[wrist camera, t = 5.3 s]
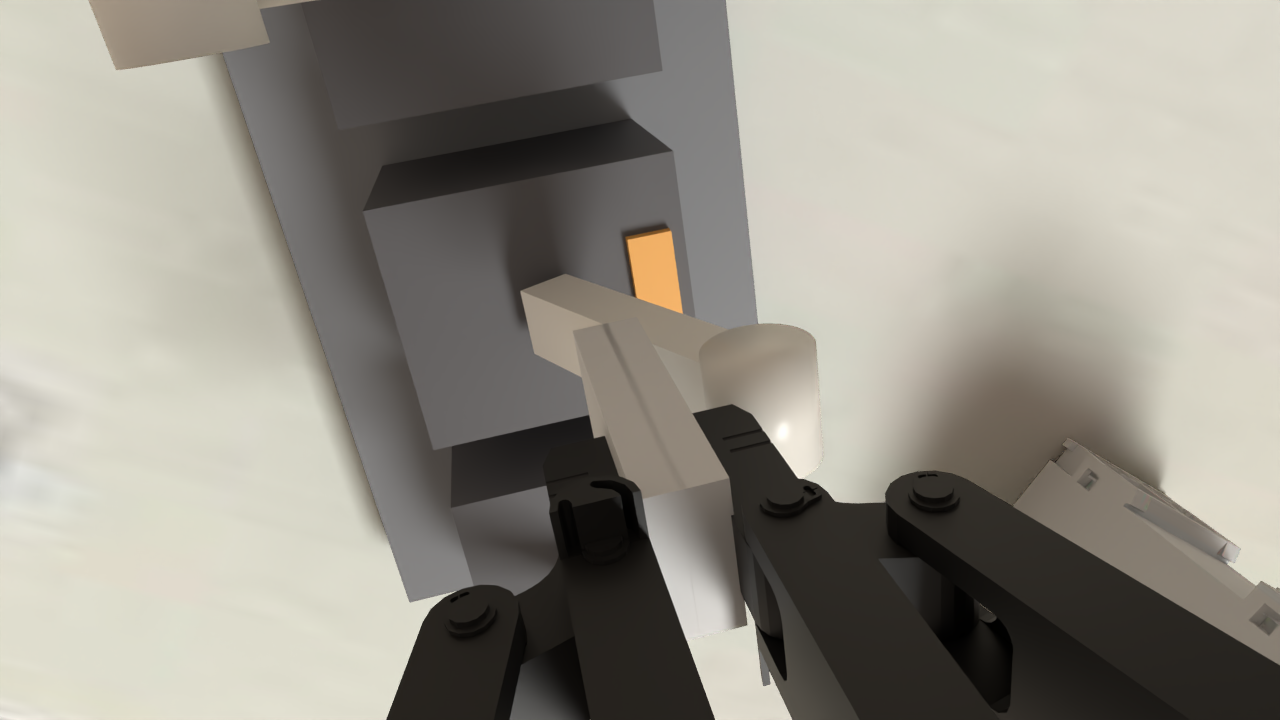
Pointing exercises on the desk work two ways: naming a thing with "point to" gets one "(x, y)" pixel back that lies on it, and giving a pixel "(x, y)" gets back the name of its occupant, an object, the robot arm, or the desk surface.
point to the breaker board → (352, 267)
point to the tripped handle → (698, 359)
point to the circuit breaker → (1153, 544)
